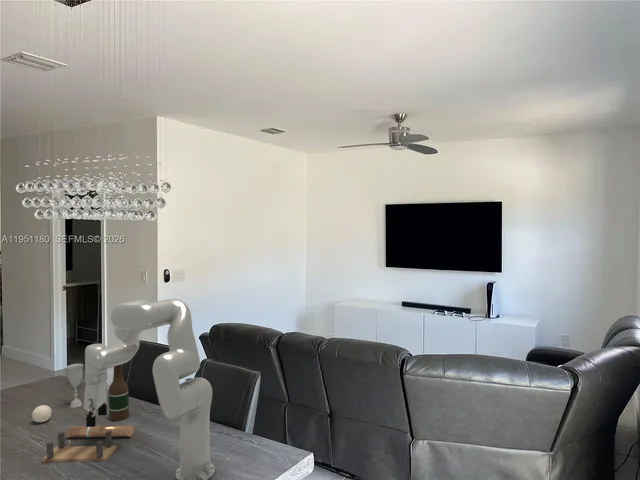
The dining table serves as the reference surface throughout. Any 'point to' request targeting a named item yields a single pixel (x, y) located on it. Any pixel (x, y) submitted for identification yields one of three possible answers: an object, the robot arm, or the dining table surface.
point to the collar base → (79, 451)
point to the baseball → (41, 413)
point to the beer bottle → (118, 396)
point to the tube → (99, 431)
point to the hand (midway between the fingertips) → (96, 420)
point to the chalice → (75, 381)
